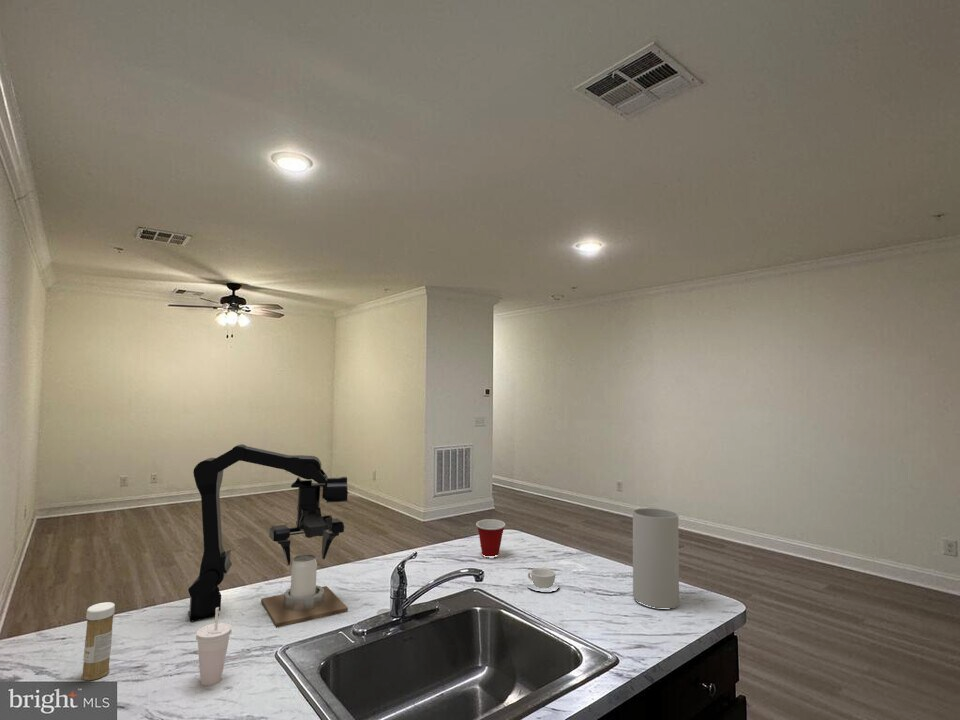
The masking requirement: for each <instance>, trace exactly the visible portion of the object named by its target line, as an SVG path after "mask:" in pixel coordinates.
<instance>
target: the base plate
mask: <svg viewBox="0 0 960 720" xmlns="http://www.w3.org/2000/svg"><path fill="white" fill-rule="evenodd" d="M321 587H322V588H323V589H324V601H323V603H322V605H320V606H318V607H316V608H314V609H310V610H305V611H292V610H288V609H285V607H284V606H283V600H284V593H283V594H278V595H273V596H268V597H262V598H260V603H261V605H262V606H264V607H263V608H264V610H265V612H266V611H267V612H266V614H267V615H268V617H269V619H270V620H271V622H272V623H273V625H274V627H275V628H277V627H278V628H281V627H286V626H291V625H295V624H299V623H300V624H301V623H304V622H307V621H312V620H317V619H321V618H322V619H323V618H326V617H330V616H333V615H339V614H342V613H347V612H349V611H348V610H349V609H348V606H347V605H346V604H345V603H344V602H343V601H342V600H341V599H340V598H339V597H338V596H337V594H335V593H334V592H333V591H332V590H331V589H330V588H329V587H328V586H327V585H326V586H321Z"/></svg>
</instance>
